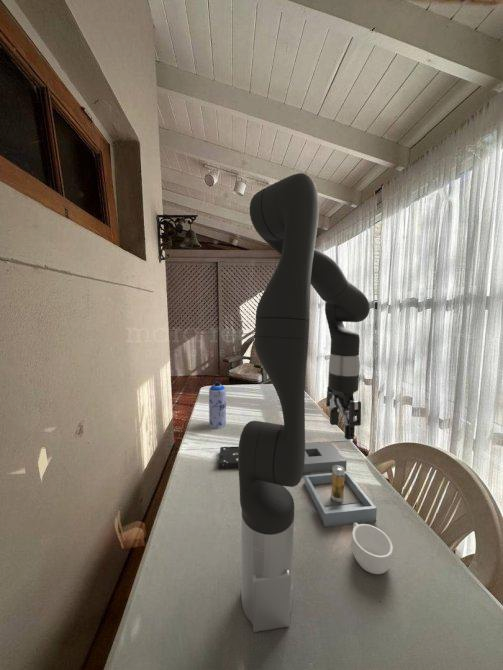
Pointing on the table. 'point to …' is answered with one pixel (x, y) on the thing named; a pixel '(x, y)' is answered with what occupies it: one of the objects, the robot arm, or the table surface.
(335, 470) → the fuse
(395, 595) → the table surface
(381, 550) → the teacup
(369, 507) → the parts tray
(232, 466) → the disk drive
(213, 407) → the aerosol can
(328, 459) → the board
